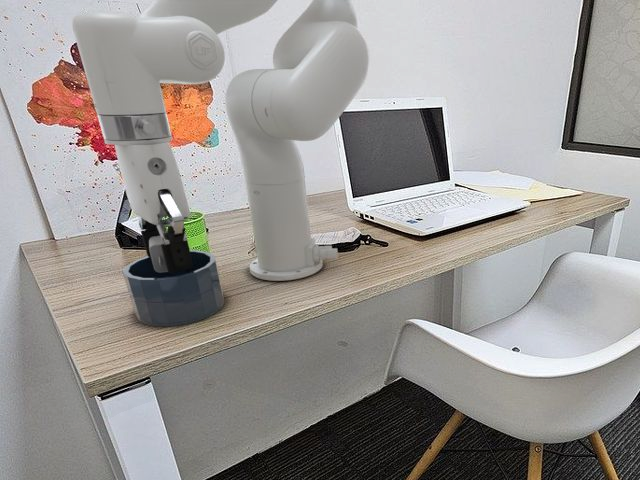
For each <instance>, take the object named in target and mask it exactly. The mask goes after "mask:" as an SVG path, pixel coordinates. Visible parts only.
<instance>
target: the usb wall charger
mask: <svg viewBox="0 0 640 480" xmlns="http://www.w3.org/2000/svg"><path fill="white" fill-rule="evenodd" d="M161 244H164V243H163V241H162V238H161V236H153V237H151V238H150V239H149V251H150V255H151V259H152V263H153V266H154V270H155V271H156V272H159V273H161V272H168V270H167V267H166V263H165V259H164V255H163V251H162V247H161Z"/></svg>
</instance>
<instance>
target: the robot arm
mask: <svg viewBox="0 0 640 480" xmlns="http://www.w3.org/2000/svg"><path fill="white" fill-rule="evenodd" d="M277 2H278V0H153V1H151V2H150V3H149V4H148V5H147V6H146V7H145V8H144V9H143V10H142V11H141V12H140V13H139V14H138V15H137V16H136V15H134V14H130V13H125V12H116V11H103V10H102V11H101V10H100V11H97V10H96V11H92V10H91V11H81V12H80V13H77V14H76V15H74V17H73V19H72V30H73V34H74V38H75V43H76V45H77V49H78V52H79V56H80V59H81V63H82V66H83V70H84V74H85V78H86V81H87V84H88V87H89V91H90V94H91V98H92V102H93V106H94V109H95V112H96V114H97V115H96V117H97V120H98V123H99V126H100V130H101V133H102V138H103V141H104V144H105V145H108V146H114V149H115V154H116V158H117V163H118V167H119V171H120V175H121V180H122V182H123V186H124V191H125V194H126V197H127V200H128V203H129V207H130V209H131V210H132V212H133V213H134V214H135V215H136V216H138V226H139V228H140V234H141V237H142V241H143V245H144V249H145V252H146V256H148V257H150V258H151V255H150V251H149V239H150V238H151V237H153V236H161V238H162V241H163V243H164V244H161V247H162V251H163V255H164V259H165V263H166V267H167V270H168V272H169V273H175V272H179V271H183V270H187V269H191V268H193V263H192V258H191V254H190V250H191V249H190V246H189V242H188V236H187V234H186V231H187V230H186V227H185V221H187V220H189V219H190V218H191V211H190V206H189V203H188V199H187V196H186V192H185V188H184V187H185V186H184V184H183V180H182V177H181V174H180V170H179V166H178V164H177V161H176V158H175V155H174V152H173V149H172V147H171V144H170V142H172V141H173V136H172V131H171V127H170V122H169V118H168V113H167V110H166V104H165V100H164V95H163V92H162V87H161V84H179V85H201V84H206V83H209V82H210V81H212V80H214V79H215V78H216V77H217V76H219V75H220V73H221V72H222V70H223V68H224V65H225V59H226V58H225V57H226V53H225V49H224V48H225V47H224V45H223V42H222V40H221V38H220V37H219V34H221V33H224V32H226V31H227V30H230V29H233V28H235V27H238V26H241V25H245V24H247V23H250V22H251V21H253V20H255V19H257V18H259V17H261V16H262V15H265V14H266V13H268V12H269V11H270V10H271V9H272V7H273V6H274V5H275V4H276V3H277ZM359 19H360V18H359V15H358V12H357V8H356V3H355V0H311V2H310V3H309V5H308V6H307V8H306V9H305V10H304V11H302V13H301V14H300V16H299V17H298V18H297V19H296V20H295V21H294V22H292V24H291V25H290V26H289V27H288V29H287V30H286V31H284V33H283V34H282V35H281V37H280V38H279V39H278V41H276V44H275V46H274V50H273V54H272V65H273V68H253V69H248V70H244V71H242V72H239V73H238V74H236V75H235V76H234V77H233V78H232V79H231V80H230V81H229V83H228V85H227V87H226V91H225V97H224V98H225V99H224V102H225V103H224V104H225V110H226V115H227V118H228V122H229V125H230V127H231V130H232V132H233V136H234V139H235V141H236V145H237V148H238V149H237V150H238V153H239V157H240V162H241V168H242V173H243V178H244V186H245V192H246V198H247V204H248V210H249V216H250V222H251V228H252V229H251V230H252V234H253V240H254V246H255V253H256V258H255V259H253V260H252V261H251V262H250V264H249V265H248V266H249V272H250V274H251V275H252V276H253V277H255V278H257V279H260V280H264V281H272V282H284V281H293V280H299V279H303V278H307V277H309V276H313V275H314V274H316V273H318V272H319V271H320V270H321V269H322V268H323V267H324V266H323V265H324V263H323V260H329V261H330V260H338V259H339V250H338V249H339V248H337V247H335V248H333V246H332V245H319V244H316V238H315V237H312V234H311V233H312V232H311V225H310V217H309V216H310V215H309V207H308V198H307V188H306V176H305V169H304V161H303V160H302V159H303V158H302V155H301V153H300V150H299V147H298V145H297V143H296V141H297V142H310V141H316V140H317V139H319V138H321V137H322V136H324V135H325V134H326V133H328V131H329V130H330V129H331V128H332V127H333V125H334V124H335V123H336V122H337V121H338V119H339V118H340V117H341V115H342V114H343V113H344V111H346V109H347V108H348V106H349V105H350V104H351V103H352V101H353V100H354V99H355V97H356V96H357V95H358V93H359V92H360V91H361V89H362V87H363V86H364V84H365V82H366V79H367V77H368V73H369V69H370V50H369V46H368V43H367V41H366V38H365V37H364V35H363V33H362V32H361V31H360V20H359ZM165 217H167V218H165ZM163 218H164V219H163Z"/></svg>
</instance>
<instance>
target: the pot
mask: <svg viewBox="0 0 640 480" xmlns="http://www.w3.org/2000/svg"><path fill="white" fill-rule="evenodd" d="M189 250H190V254H191V258H192V263H193V268H191V269H187V270H183V271H179V272H175V273H169V272H161V273H159V272H156V271H155V270H154V266H153V263H152V259H151V258H150V257H148V256H147V255H146V256H143V257H141V258H139V259H136V260H134V261H132V262H130V263H129V264H127V265H126V266H124V268H123V270H122V275H123V279H124V282H125V284H126V288H127V292H128V296H129V298H130V301H131V304H132V308H133V312H134V314H135V317H136V318H137V320H138V321H139V322H140V323H142V324H144V325H146V326H150V327H157V328H158V327H161V328H164V327H166V328H167V327H177V326H183V325H189V324H193V323H196V322H200V321H202V320H204V319H208V318H209V317H211V316H213V315H215V314H216V313H218V312H220V310H221V309H222V308H223V306H224V304H225V299H224V291H223V287H222V283H221V277H220V272H219V269H218V268H219V267H218V262H217V257H216V255H214V254H212V253H211V252H208V251H203V250H199V249H198V250H197V249H189Z"/></svg>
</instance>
